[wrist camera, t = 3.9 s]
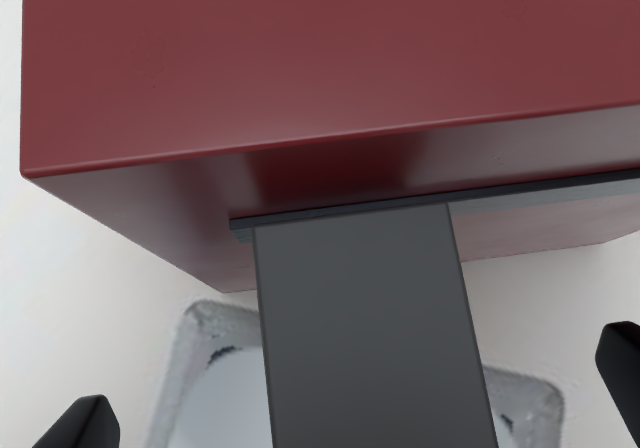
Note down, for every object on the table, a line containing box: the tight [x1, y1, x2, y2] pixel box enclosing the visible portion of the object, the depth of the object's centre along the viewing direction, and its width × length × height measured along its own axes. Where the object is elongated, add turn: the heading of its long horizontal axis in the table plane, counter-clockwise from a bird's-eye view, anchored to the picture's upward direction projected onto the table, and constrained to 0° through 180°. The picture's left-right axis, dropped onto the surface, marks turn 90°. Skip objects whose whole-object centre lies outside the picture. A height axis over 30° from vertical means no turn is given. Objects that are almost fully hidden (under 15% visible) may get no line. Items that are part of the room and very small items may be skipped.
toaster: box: [20, 0, 640, 293], centre depth 13 cm, size 9×15×13 cm, turn 98°
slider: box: [251, 201, 499, 448], centre depth 9 cm, size 4×3×4 cm
